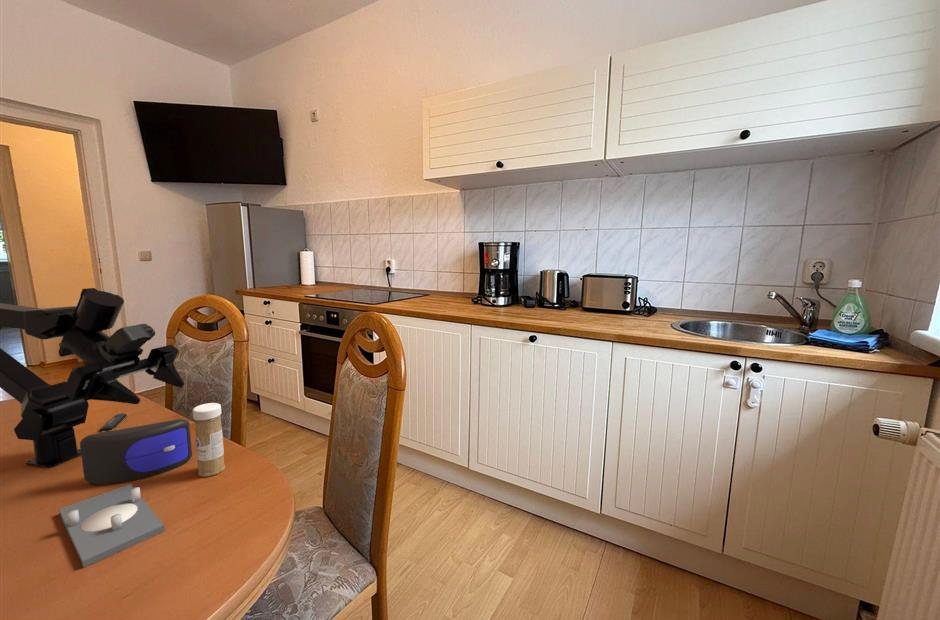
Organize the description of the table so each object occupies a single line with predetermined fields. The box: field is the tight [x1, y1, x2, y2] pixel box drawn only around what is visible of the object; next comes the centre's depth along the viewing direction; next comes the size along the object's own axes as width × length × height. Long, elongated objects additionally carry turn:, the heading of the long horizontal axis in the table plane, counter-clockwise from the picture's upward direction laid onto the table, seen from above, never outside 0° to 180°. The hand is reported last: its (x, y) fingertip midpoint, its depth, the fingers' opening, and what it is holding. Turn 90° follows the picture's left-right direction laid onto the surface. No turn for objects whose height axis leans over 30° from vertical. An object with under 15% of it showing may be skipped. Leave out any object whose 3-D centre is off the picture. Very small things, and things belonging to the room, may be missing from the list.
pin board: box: [58, 483, 166, 569], centre depth 61 cm, size 18×9×3 cm, turn 54°
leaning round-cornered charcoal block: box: [79, 418, 193, 486], centre depth 74 cm, size 16×5×9 cm, turn 123°
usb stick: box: [99, 413, 128, 433], centre depth 97 cm, size 10×3×2 cm, turn 24°
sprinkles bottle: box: [192, 402, 226, 478], centre depth 75 cm, size 5×5×13 cm
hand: (162, 393), depth 74 cm, fingers open, 9 cm apart
